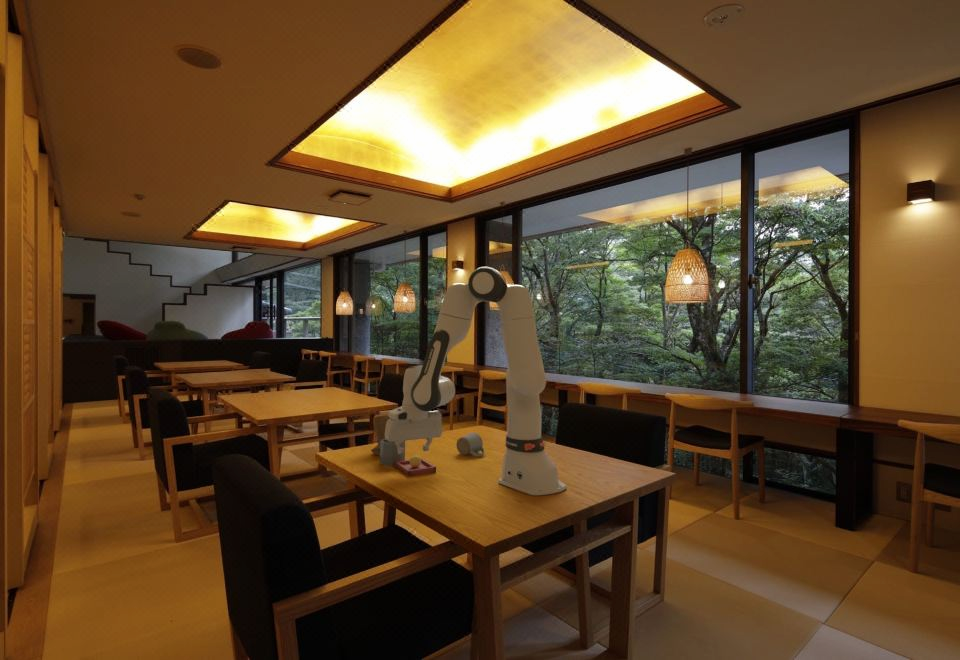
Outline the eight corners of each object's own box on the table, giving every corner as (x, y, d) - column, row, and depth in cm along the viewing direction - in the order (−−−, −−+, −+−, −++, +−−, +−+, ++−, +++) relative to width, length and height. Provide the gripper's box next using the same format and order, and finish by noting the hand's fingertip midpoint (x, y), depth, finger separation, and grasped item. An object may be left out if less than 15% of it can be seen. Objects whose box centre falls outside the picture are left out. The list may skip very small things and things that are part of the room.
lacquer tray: (436, 472, 165) (436, 467, 165) (408, 476, 160) (408, 471, 160) (421, 463, 175) (421, 458, 175) (395, 467, 170) (395, 461, 170)
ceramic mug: (454, 453, 188) (455, 434, 188) (468, 449, 195) (468, 430, 194) (475, 459, 182) (476, 439, 181) (489, 455, 188) (489, 435, 188)
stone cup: (382, 446, 198) (382, 409, 198) (408, 448, 195) (409, 411, 194) (362, 455, 184) (362, 416, 183) (390, 458, 180) (391, 418, 180)
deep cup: (407, 463, 174) (407, 441, 174) (385, 467, 169) (385, 444, 169) (398, 458, 181) (399, 436, 181) (377, 461, 177) (377, 439, 176)
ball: (423, 468, 167) (423, 456, 167) (412, 469, 165) (412, 457, 165) (418, 464, 170) (418, 453, 170) (407, 466, 168) (407, 455, 168)
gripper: (437, 408, 175) (436, 446, 175) (383, 412, 164) (382, 452, 164) (446, 411, 170) (444, 451, 170) (390, 415, 159) (389, 457, 159)
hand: (413, 452), depth 167 cm, fingers open, 8 cm apart
